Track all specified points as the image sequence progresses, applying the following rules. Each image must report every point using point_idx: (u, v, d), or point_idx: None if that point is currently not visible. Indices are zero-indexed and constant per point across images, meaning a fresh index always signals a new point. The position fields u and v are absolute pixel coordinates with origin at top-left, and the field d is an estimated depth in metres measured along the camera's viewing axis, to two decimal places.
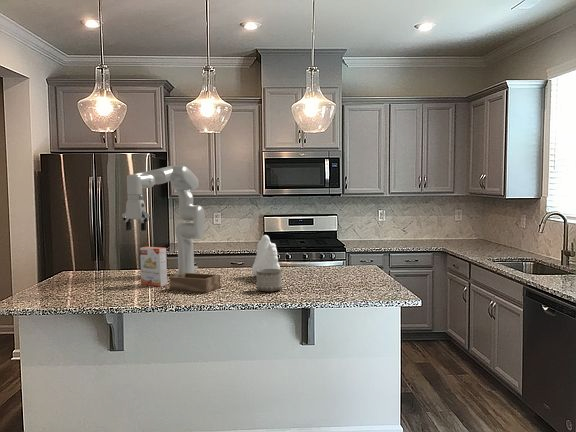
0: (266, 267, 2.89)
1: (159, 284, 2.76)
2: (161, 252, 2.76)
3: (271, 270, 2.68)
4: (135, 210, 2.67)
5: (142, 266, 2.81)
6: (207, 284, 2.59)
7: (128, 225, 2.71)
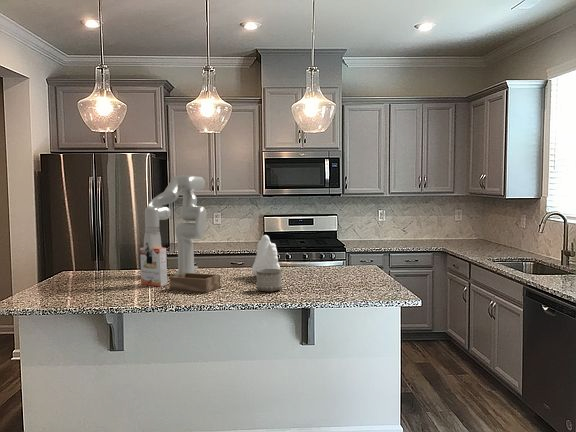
0: (266, 267, 2.89)
1: (159, 284, 2.76)
2: (162, 252, 2.76)
3: (271, 270, 2.68)
4: (158, 241, 2.81)
5: (142, 266, 2.81)
6: (207, 284, 2.59)
7: None
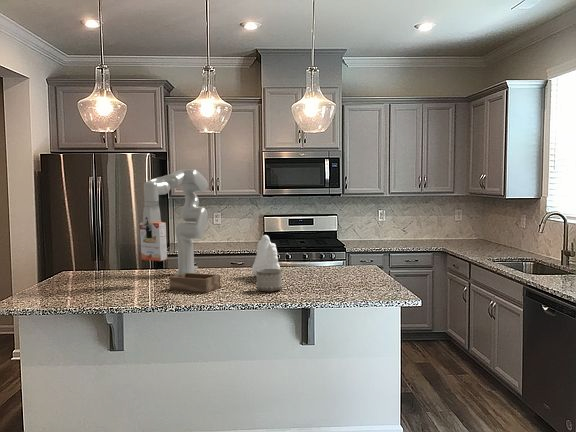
0: (266, 267, 2.89)
1: (159, 258, 2.76)
2: (161, 227, 2.76)
3: (271, 270, 2.68)
4: (158, 216, 2.80)
5: (142, 241, 2.81)
6: (207, 284, 2.59)
7: None
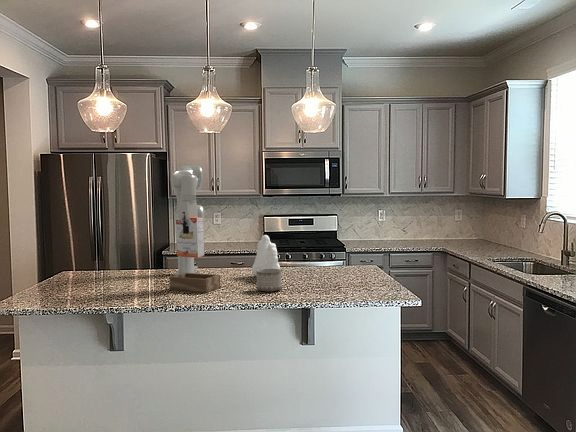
0: (266, 267, 2.89)
1: (196, 255, 2.64)
2: (199, 222, 2.64)
3: (271, 270, 2.68)
4: (195, 210, 2.68)
5: (178, 236, 2.68)
6: (207, 284, 2.59)
7: None
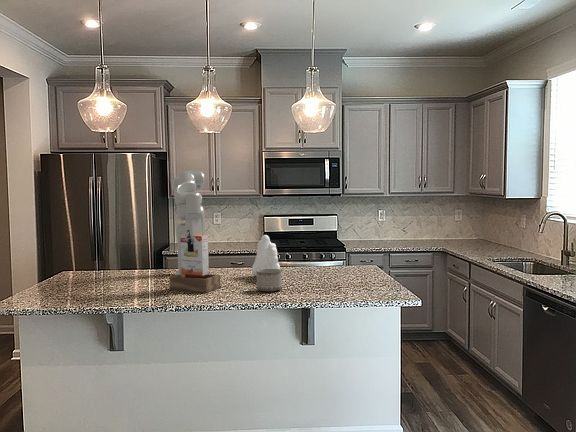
0: (266, 267, 2.89)
1: (201, 273, 2.63)
2: (204, 240, 2.63)
3: (271, 270, 2.68)
4: (199, 228, 2.68)
5: (182, 254, 2.68)
6: (207, 284, 2.59)
7: None
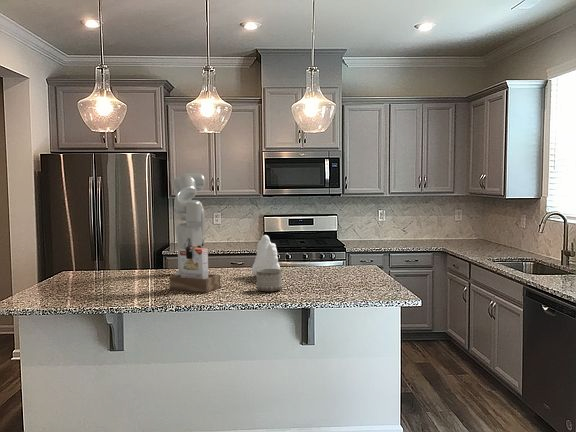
0: (266, 267, 2.89)
1: None
2: (204, 253, 2.63)
3: (271, 270, 2.68)
4: (200, 236, 2.68)
5: (182, 267, 2.67)
6: (207, 284, 2.59)
7: None
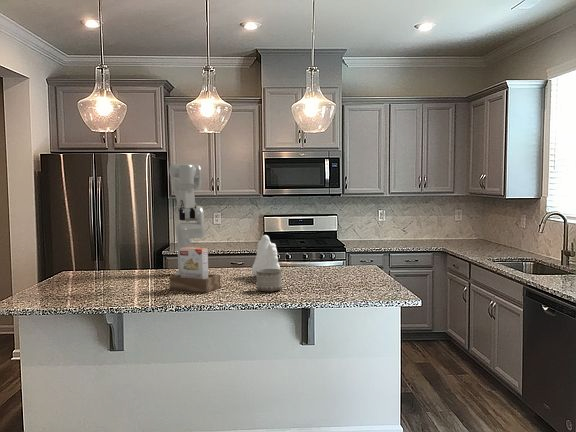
0: (266, 267, 2.89)
1: None
2: (204, 253, 2.63)
3: (271, 270, 2.68)
4: (192, 199, 2.76)
5: (182, 267, 2.67)
6: (207, 284, 2.59)
7: None
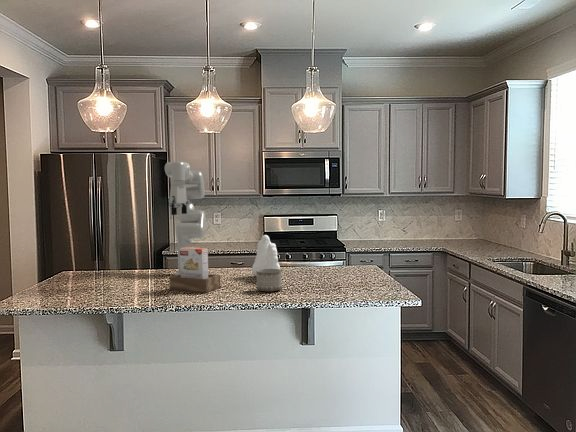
0: (266, 267, 2.89)
1: None
2: (204, 253, 2.63)
3: (271, 270, 2.68)
4: (184, 195, 2.89)
5: (182, 267, 2.67)
6: (207, 284, 2.59)
7: None
